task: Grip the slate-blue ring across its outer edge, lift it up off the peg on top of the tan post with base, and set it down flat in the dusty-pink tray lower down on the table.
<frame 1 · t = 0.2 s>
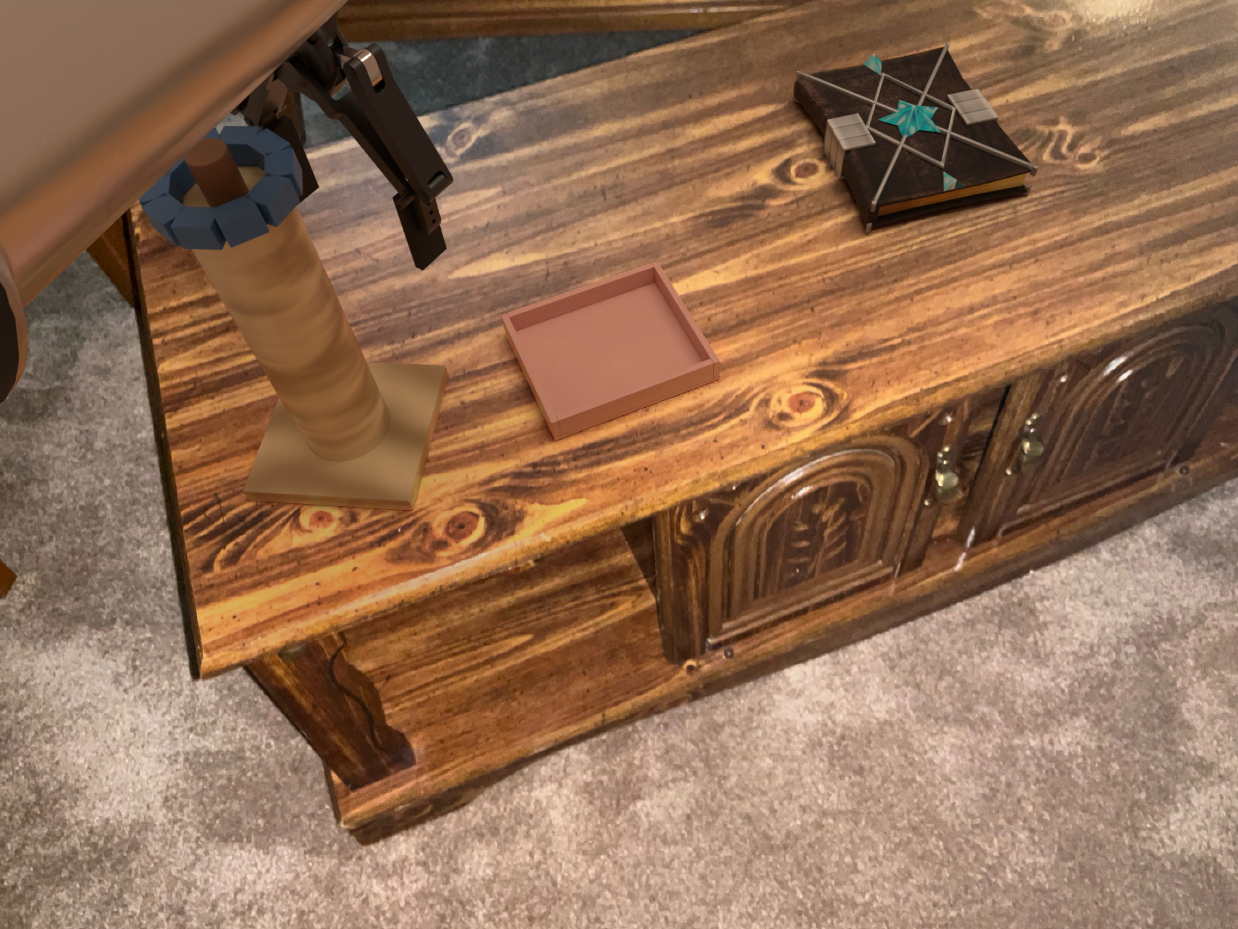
hand: (365, 226, 74), 15 cm above the sideboard, tool pointing down, fingers open, 13 cm apart
book: (905, 148, 98), on the sideboard
ring: (228, 197, 60), point 26 cm above the sideboard, touching tan post with base
tray: (609, 355, 85), on the sideboard
tan post with base: (352, 436, 82), on the sideboard
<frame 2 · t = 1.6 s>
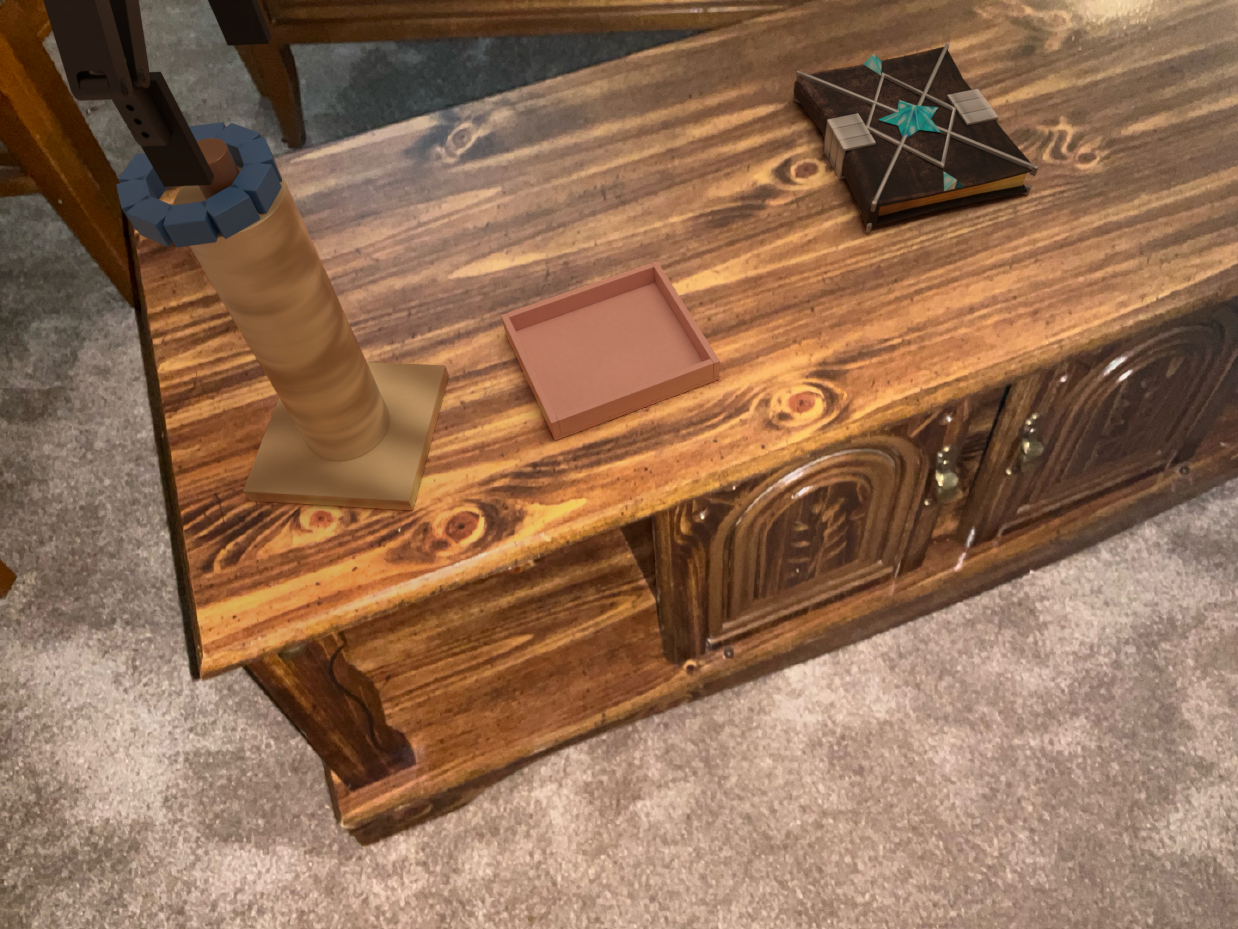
hand: (221, 107, 57), 31 cm above the sideboard, tool pointing down, fingers open, 13 cm apart
ring: (206, 194, 61), point 26 cm above the sideboard, touching tan post with base
everything else where it was.
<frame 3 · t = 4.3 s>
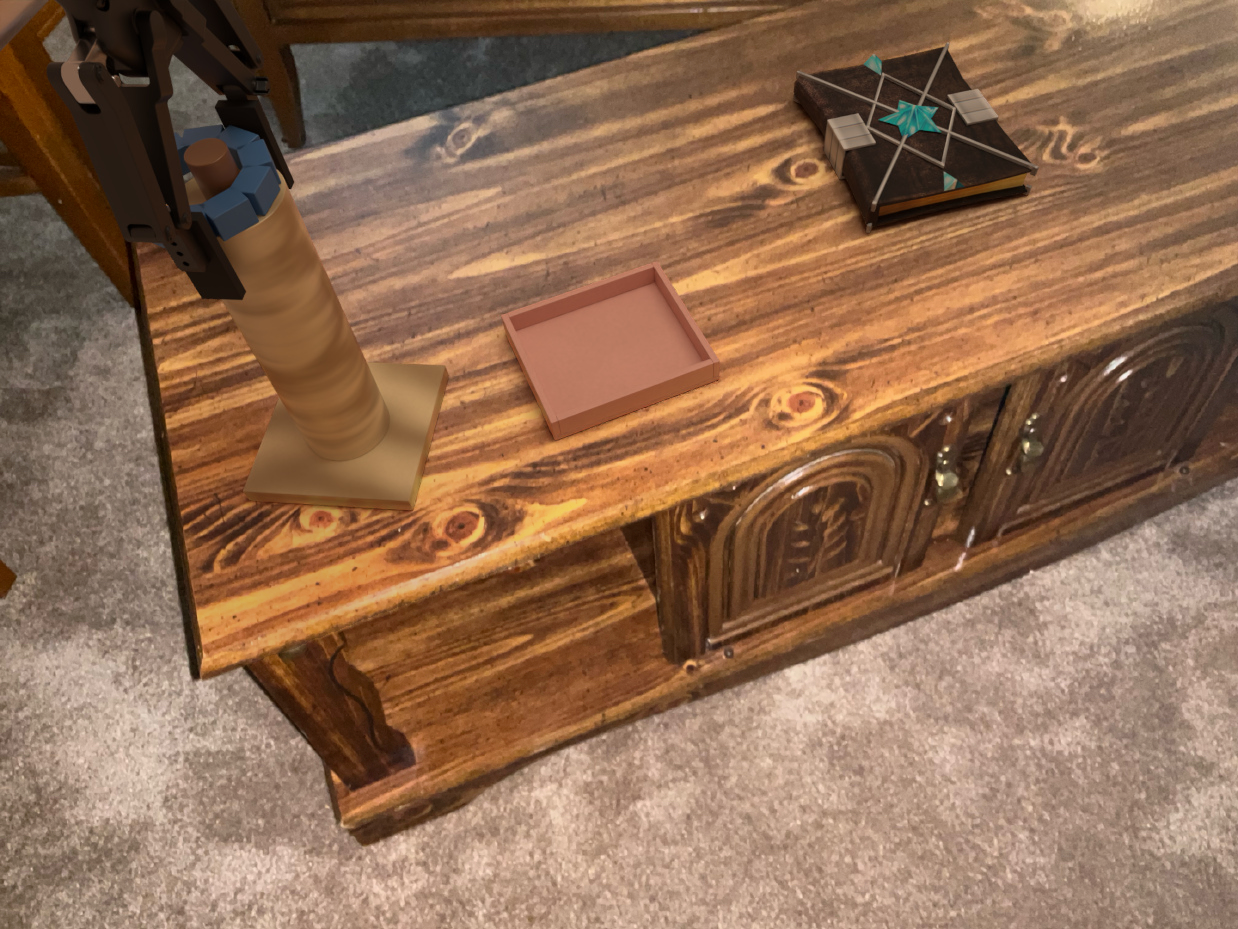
hand: (250, 237, 63), 23 cm above the sideboard, tool pointing down, fingers closed on ring, 10 cm apart
ring: (205, 196, 61), point 26 cm above the sideboard, touching gripper, tan post with base
everything else where it was.
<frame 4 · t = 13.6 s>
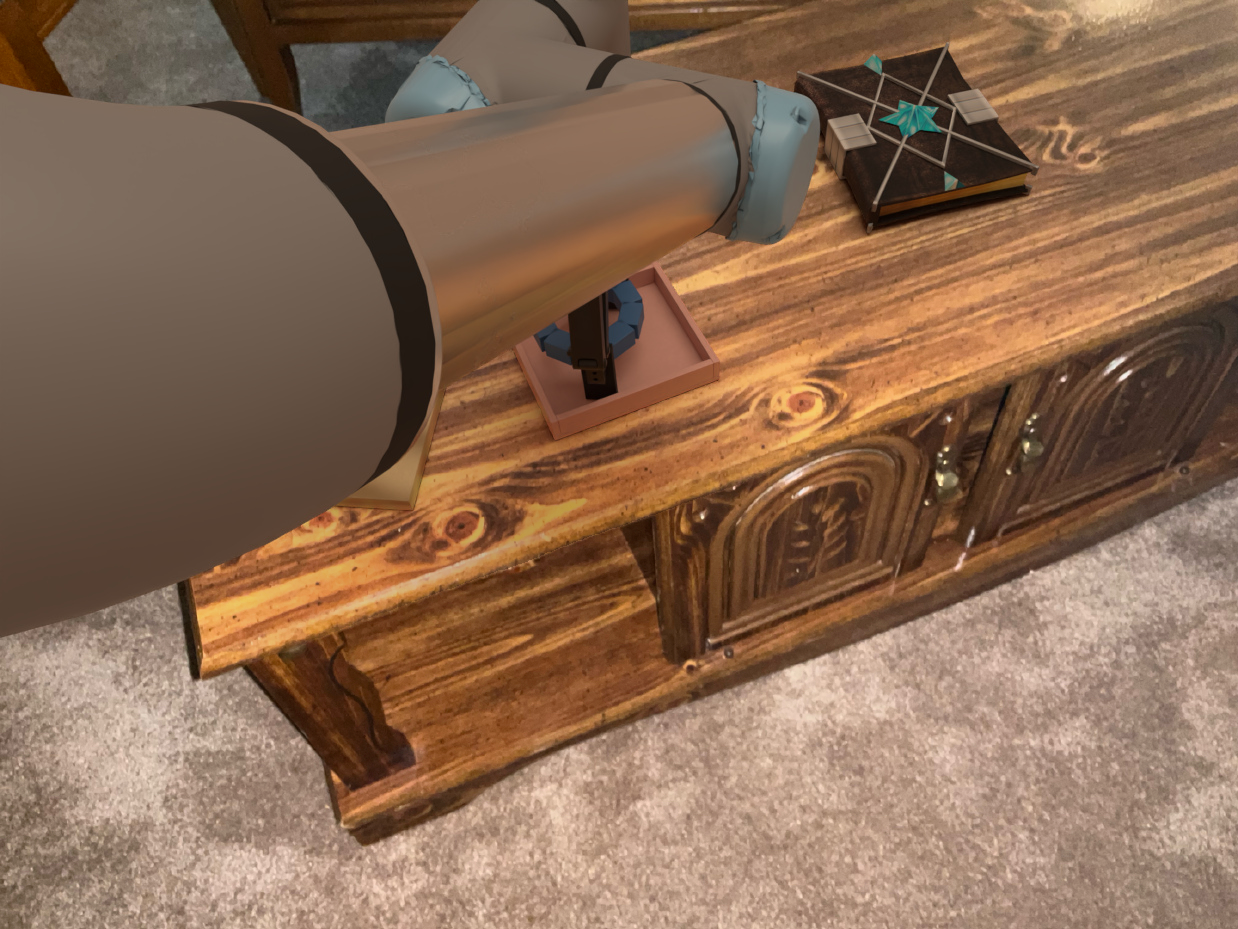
hand: (609, 349, 84), 1 cm above the sideboard, tool pointing down, fingers closed on ring, 10 cm apart
ring: (587, 322, 82), point 4 cm above the sideboard, touching gripper
everything else where it was.
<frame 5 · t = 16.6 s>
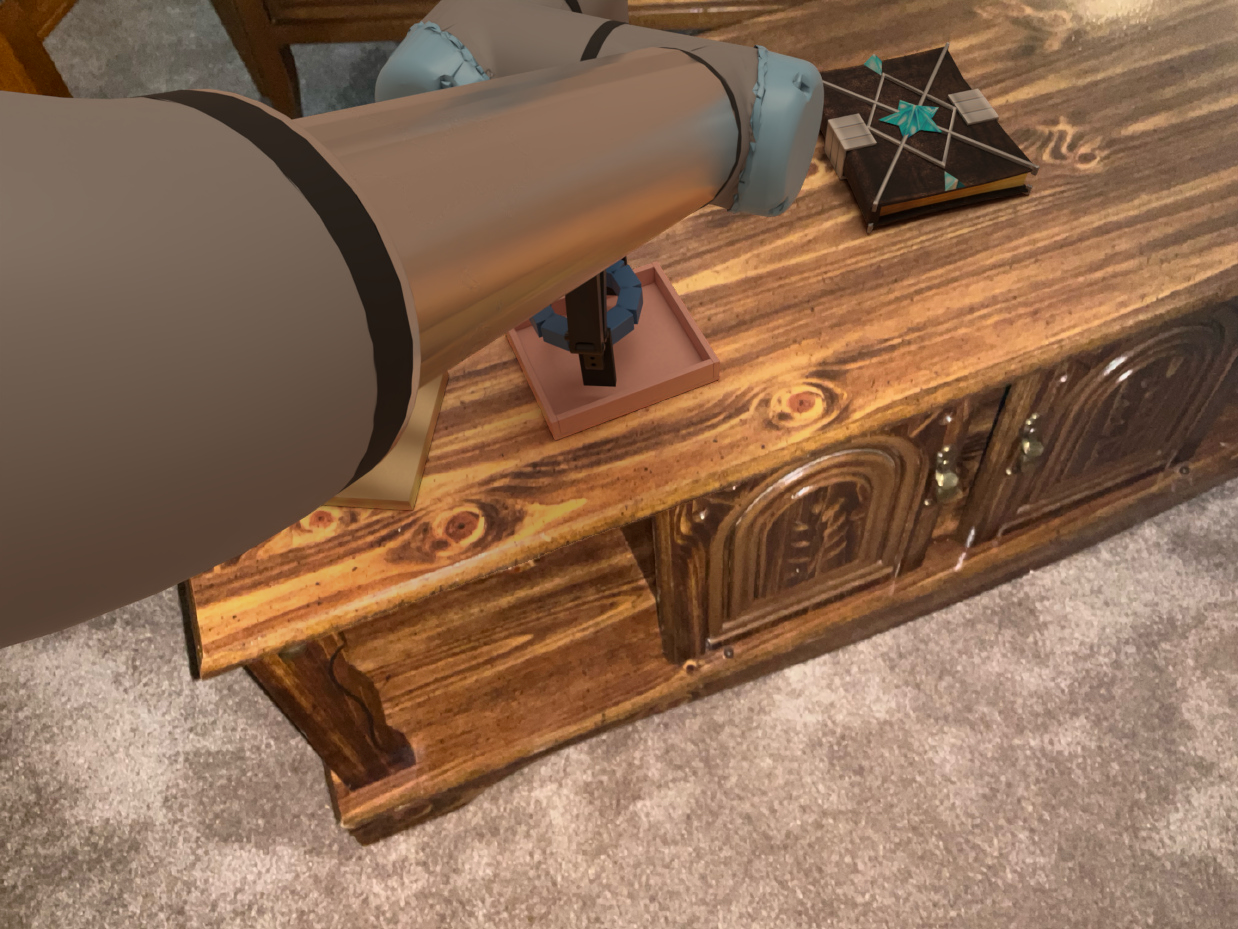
hand: (607, 336, 83), 3 cm above the sideboard, tool pointing down, fingers closed on ring, 9 cm apart
ring: (585, 308, 80), point 6 cm above the sideboard, touching gripper
everything else where it was.
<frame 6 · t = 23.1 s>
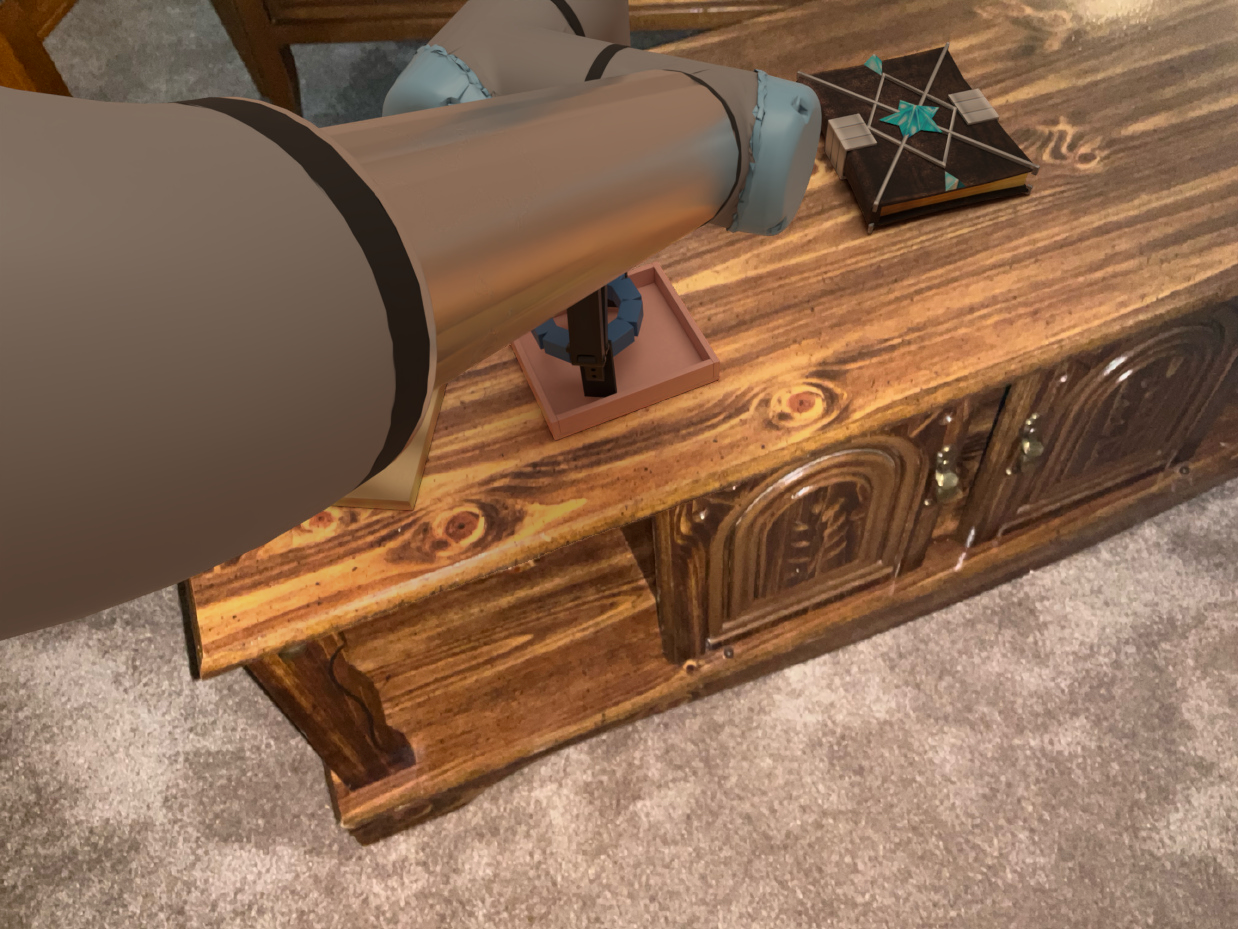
hand: (608, 347, 84), 1 cm above the sideboard, tool pointing down, fingers closed on ring, 9 cm apart
ring: (586, 320, 81), point 5 cm above the sideboard, touching gripper
everything else where it was.
when the fingers open (3 cm above the sideboard, at t = 29.2 s): ring drops 6 cm, resting on tray.
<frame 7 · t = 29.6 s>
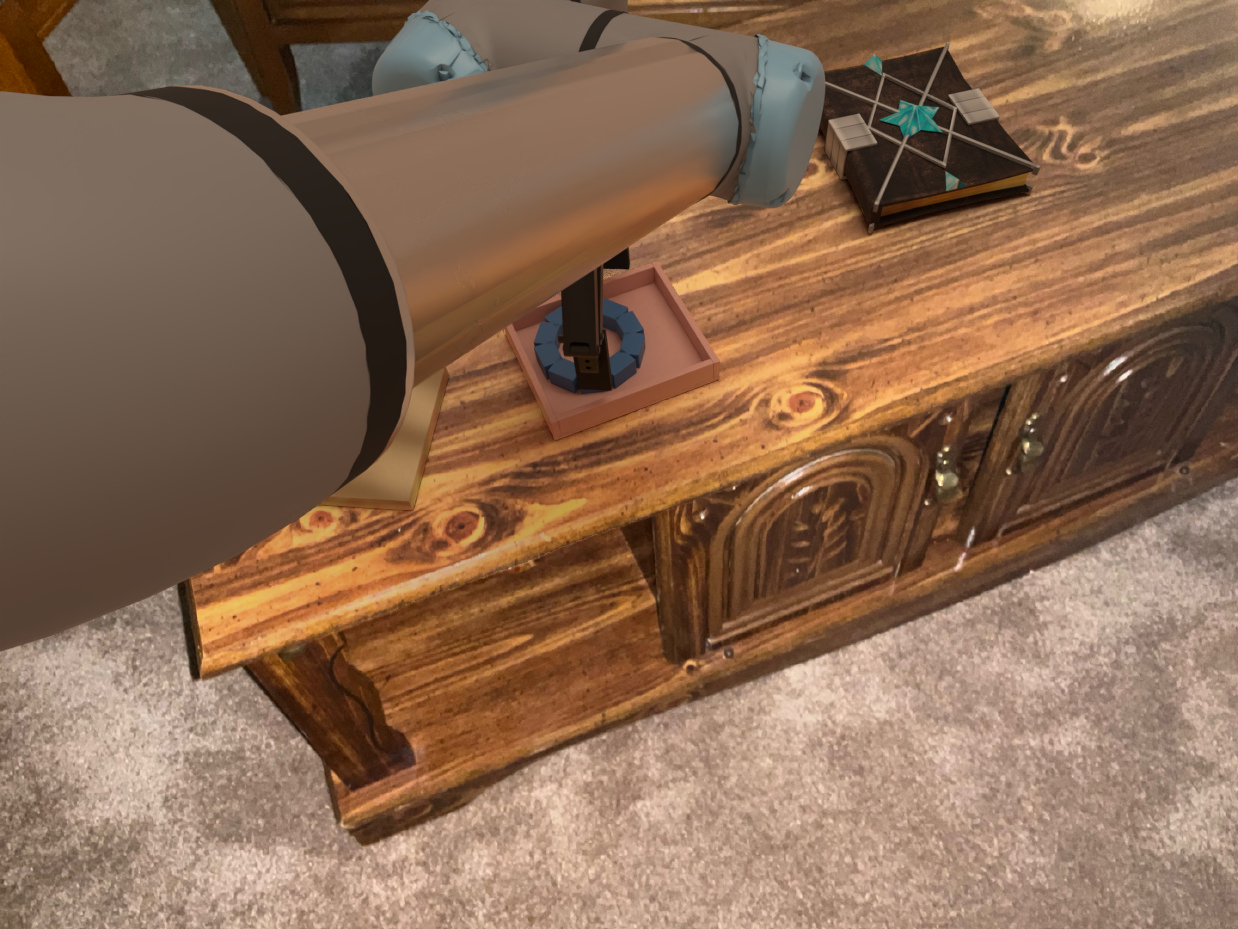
hand: (605, 323, 81), 4 cm above the sideboard, tool pointing down, fingers open, 13 cm apart
ring: (590, 351, 85), resting on tray
everything else where it was.
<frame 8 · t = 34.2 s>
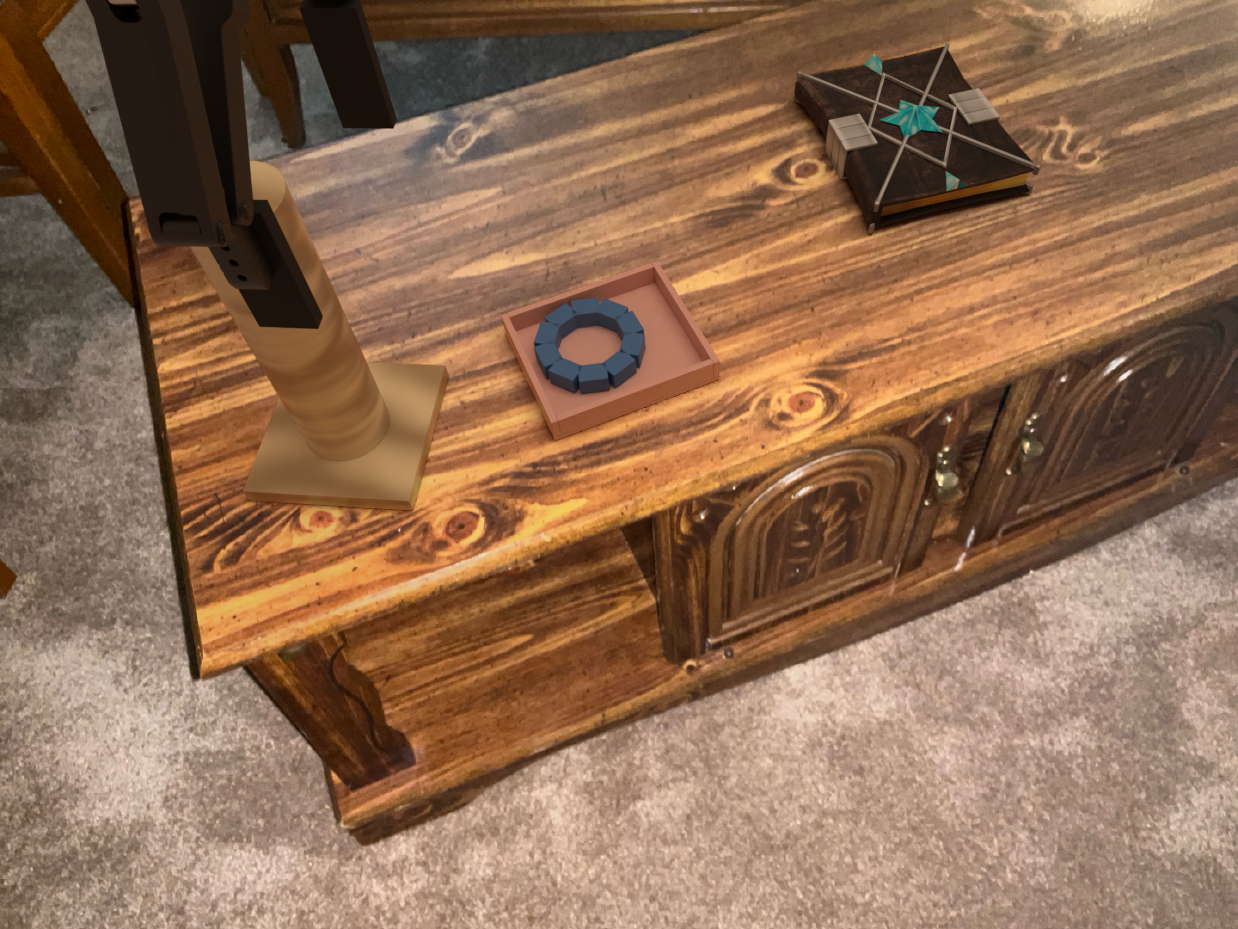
hand: (334, 215, 46), 35 cm above the sideboard, tool pointing down, fingers open, 13 cm apart
nothing on the sideboard moved.
at the end: ring inside the target area in the tray (1.6 cm from its centre), point 0.5 cm above the tray's base; ring tilted 0°; the gripper is holding nothing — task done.
